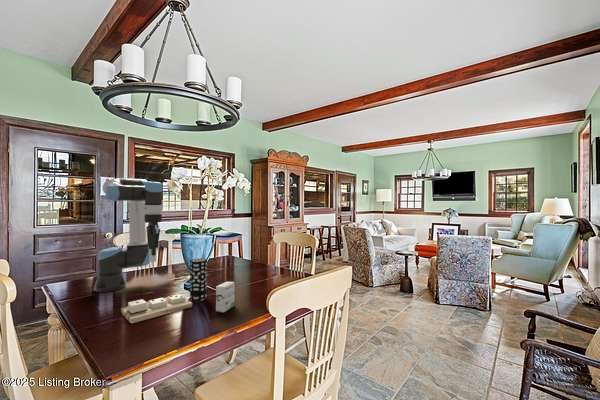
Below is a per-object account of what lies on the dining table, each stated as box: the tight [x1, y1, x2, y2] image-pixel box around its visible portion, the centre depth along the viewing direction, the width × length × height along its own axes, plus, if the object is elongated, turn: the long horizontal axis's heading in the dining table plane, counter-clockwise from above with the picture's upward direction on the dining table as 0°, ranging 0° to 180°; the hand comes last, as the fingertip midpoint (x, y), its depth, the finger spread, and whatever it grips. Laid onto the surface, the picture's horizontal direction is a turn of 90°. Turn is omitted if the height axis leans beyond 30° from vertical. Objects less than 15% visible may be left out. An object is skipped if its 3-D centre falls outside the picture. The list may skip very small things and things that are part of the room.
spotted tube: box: [189, 258, 208, 302], centre depth 144 cm, size 8×8×20 cm
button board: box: [120, 296, 193, 324], centre depth 129 cm, size 16×26×2 cm, turn 135°
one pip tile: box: [127, 299, 148, 314], centre depth 123 cm, size 6×6×3 cm
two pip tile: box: [148, 297, 167, 309], centre depth 129 cm, size 6×6×3 cm
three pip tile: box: [167, 293, 186, 305], centre depth 135 cm, size 6×6×3 cm
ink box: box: [215, 281, 236, 313], centre depth 131 cm, size 9×5×12 cm, turn 158°
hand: (152, 261), depth 135 cm, fingers closed
